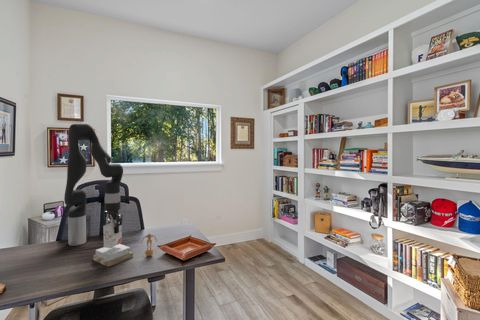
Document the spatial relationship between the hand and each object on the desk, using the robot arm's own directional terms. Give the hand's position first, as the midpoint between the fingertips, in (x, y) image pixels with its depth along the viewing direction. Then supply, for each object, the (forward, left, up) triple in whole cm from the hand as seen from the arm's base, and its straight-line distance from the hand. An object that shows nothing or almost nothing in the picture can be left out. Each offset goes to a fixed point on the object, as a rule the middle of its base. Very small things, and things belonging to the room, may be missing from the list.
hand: (112, 231), depth 133 cm
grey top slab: (0, 0, -12) cm, 12 cm away
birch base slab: (0, 0, -15) cm, 15 cm away
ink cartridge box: (0, 0, -7) cm, 7 cm away
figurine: (+13, +13, -15) cm, 24 cm away
